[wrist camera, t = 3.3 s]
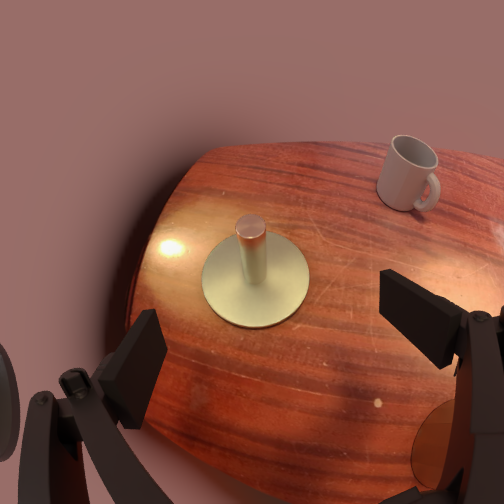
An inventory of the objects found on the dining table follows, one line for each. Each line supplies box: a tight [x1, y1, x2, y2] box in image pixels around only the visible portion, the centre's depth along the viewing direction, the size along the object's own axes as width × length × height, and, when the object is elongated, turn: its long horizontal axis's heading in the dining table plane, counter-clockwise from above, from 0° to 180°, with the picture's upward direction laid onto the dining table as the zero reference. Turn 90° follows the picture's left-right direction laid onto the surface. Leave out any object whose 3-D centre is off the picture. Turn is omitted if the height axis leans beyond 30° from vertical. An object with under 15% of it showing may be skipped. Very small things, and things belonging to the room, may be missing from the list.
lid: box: [202, 214, 310, 328], centre depth 28 cm, size 12×12×10 cm
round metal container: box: [411, 399, 455, 490], centre depth 16 cm, size 11×11×8 cm
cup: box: [377, 135, 441, 212], centre depth 34 cm, size 7×10×9 cm
